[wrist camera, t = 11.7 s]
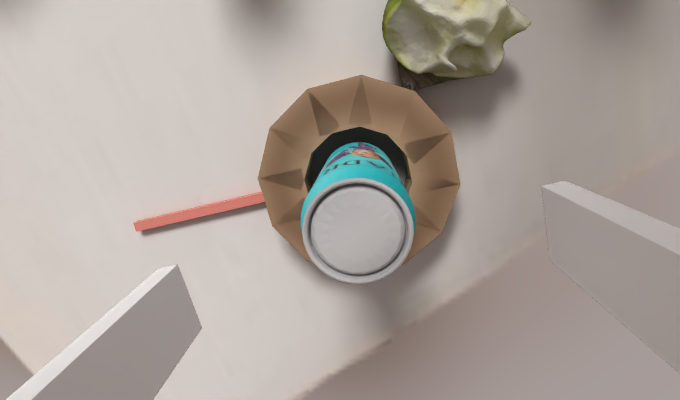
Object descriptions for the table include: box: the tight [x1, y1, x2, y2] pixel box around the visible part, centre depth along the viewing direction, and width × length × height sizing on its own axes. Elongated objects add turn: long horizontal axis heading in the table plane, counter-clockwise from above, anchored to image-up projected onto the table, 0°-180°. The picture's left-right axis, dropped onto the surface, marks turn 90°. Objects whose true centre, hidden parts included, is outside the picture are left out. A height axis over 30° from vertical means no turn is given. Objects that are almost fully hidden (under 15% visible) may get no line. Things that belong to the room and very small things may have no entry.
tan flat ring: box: [258, 75, 460, 265], centre depth 30 cm, size 15×15×3 cm
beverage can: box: [301, 142, 416, 284], centre depth 25 cm, size 6×6×15 cm
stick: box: [133, 192, 265, 231], centre depth 33 cm, size 1×13×1 cm, turn 104°
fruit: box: [382, 0, 531, 90], centre depth 26 cm, size 9×9×8 cm
